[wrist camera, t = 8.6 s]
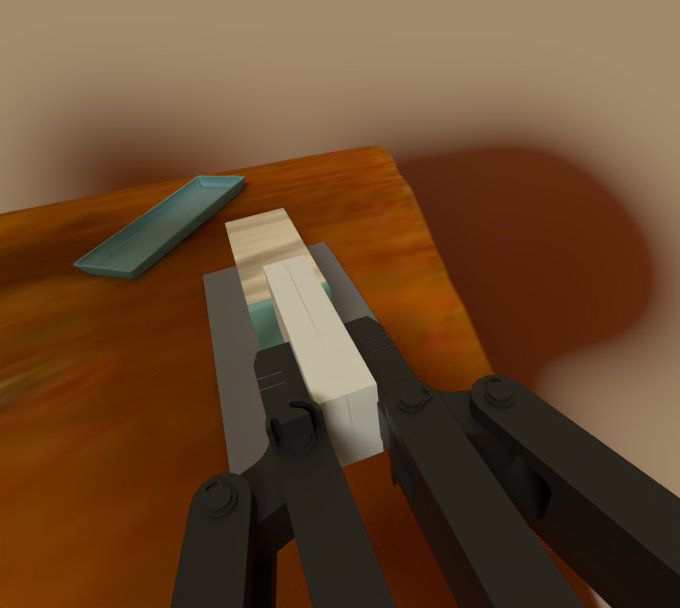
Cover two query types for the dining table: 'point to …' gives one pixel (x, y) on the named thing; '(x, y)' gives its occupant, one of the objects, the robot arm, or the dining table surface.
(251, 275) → the birch block
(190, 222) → the shallow long dish
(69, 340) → the dining table surface
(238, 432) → the rubber mat
